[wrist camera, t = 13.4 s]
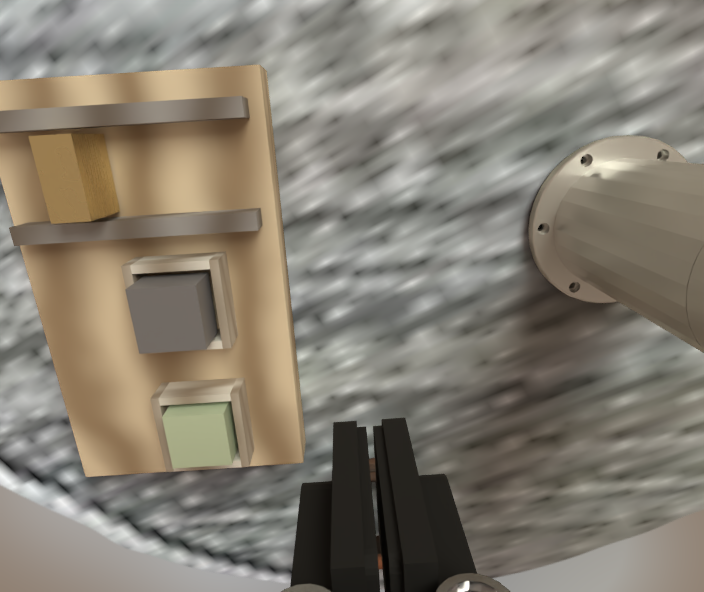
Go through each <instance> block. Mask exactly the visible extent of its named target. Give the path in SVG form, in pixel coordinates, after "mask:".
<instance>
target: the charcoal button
mask: <svg viewBox="0 0 704 592" xmlns="http://www.w3.org/2000/svg"><path fill="white" fill-rule="evenodd" d="M125 291H126V296H127V300H128V305H129V309H130V314H131V319H132V323H133V328H134V332H135V337H136V341H137V346H138V350H139V354H143V353H159V352H174V351H190V350H205V349H207V348H208V347H209V345H210V343H211V342H212V340H213V338H214V337H215V335H216V334H217V332H218V330H217V324H216V317H215V311H214V305H213V299H212V292H211V286H210V280H209V274H208V272H202V273H186V274H170V275H155V276H143V277H142V278H141V279H139V280H138V281H136V282H135V283H134V284H132V285H131V286H129V287H128V288H127V289H125Z"/></svg>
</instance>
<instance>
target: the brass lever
mask: <svg viewBox="0 0 704 592" xmlns="http://www.w3.org/2000/svg"><path fill="white" fill-rule="evenodd" d="M28 137H29V141H30V145H31V149H32V152H33V156H34V160H35V164H36V168H37V172H38V175H39V179H40V183H41V187H42V191H43V195H44V198H45V202H46V206H47V210H48V214H49V218H50V221H51V224H57V223H72V222H88V221H94V220H96V219H99V218H102V217H105V216H108V215H111V214H114V213H117V212H120V208H119V204H118V199H117V194H116V190H115V185H114V180H113V176H112V171H111V166H110V161H109V157H108V152H107V147H106V143H105V138H104V134H73V133H70V134H54V135H38V136H28Z"/></svg>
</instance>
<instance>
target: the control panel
mask: <svg viewBox="0 0 704 592" xmlns="http://www.w3.org/2000/svg"><path fill="white" fill-rule="evenodd" d="M70 133H73V134H104V138H105V143H106V147H107V152H108V157H109V161H110V166H111V171H112V176H113V180H114V185H115V190H116V194H117V199H118V204H119V208H120V212H117V213H114V214H111V215H108V216H105V217H102V218H99V219H96V220H94V221H88V222H72V223H57V224H51V221H50V218H49V214H48V210H47V206H46V202H45V198H44V195H43V191H42V187H41V183H40V179H39V175H38V172H37V168H36V164H35V160H34V156H33V152H32V149H31V145H30V141H29V137H28V136H38V135H54V134H70ZM0 178H1V181H2V185H3V188H4V192H5V195H6V199H7V202H8V206H9V209H10V213H11V216H12V220H13V223H14V227H10V228H9V229H10V233H11V236H12V240H13V243H14V246H20V248H21V251H22V255H23V258H24V262H25V265H26V269H27V272H28V276H29V279H30V283H31V286H32V290H33V293H34V297H35V300H36V304H37V307H38V311H39V314H40V318H41V321H42V325H43V328H44V332H45V335H46V339H47V342H48V346H49V349H50V353H51V356H52V360H53V363H54V367H55V370H56V374H57V377H58V381H59V384H60V388H61V391H62V395H63V398H64V402H65V405H66V409H67V412H68V416H69V419H70V423H71V426H72V430H73V433H74V437H75V440H76V444H77V447H78V451H79V454H80V458H81V461H82V465H83V468H84V472H85V475H86V477H92V476H108V475H123V474H138V473H154V472H175V471H190V470H206V469H221V468H237V467H249V466H261V465H277V464H292V463H303V460H304V451H305V442H306V440H305V430H304V421H303V411H302V402H301V393H300V383H299V374H298V364H297V355H296V345H295V336H294V326H293V317H292V307H291V298H290V288H289V279H288V269H287V260H286V250H285V241H284V232H283V222H282V213H281V203H280V194H279V184H278V175H277V165H276V156H275V146H274V137H273V127H272V118H271V108H270V99H269V90H268V80H267V71H266V70H265V69H264V68H263V67H262V66H260V65H248V66H232V67H215V68H199V69H183V70H167V71H150V72H134V73H118V74H102V75H85V76H69V77H53V78H37V79H20V80H4V81H0ZM202 272H208V274H209V280H210V286H211V292H212V299H213V305H214V311H215V317H216V324H217V330H218V332H217V334H216V335H215V337H214V338H213V340H212V342H211V343H210V345H209V347H208V348H207V349H205V350H190V351H174V352H159V353H143V354H139V350H138V346H137V341H136V337H135V332H134V328H133V323H132V319H131V314H130V309H129V305H128V300H127V296H126V291H125V289H127V288H128V287H129V286H131V285H132V284H134V283H135V282H136V281H138V280H139V279H141V278H142V277H143V276H155V275H170V274H186V273H202ZM225 401H231V403H232V410H233V416H234V422H235V428H236V435H237V441H238V448H237V451H236V454H235V457H234V460H233V463H232V465H220V466H204V467H189V468H174V469H173V467H172V462H171V457H170V453H169V448H168V443H167V439H166V434H165V429H164V425H163V420H162V416H163V415H164V413H165V412H166V410H167V408H168V407H169V405H179V404H194V403H210V402H225Z"/></svg>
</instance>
